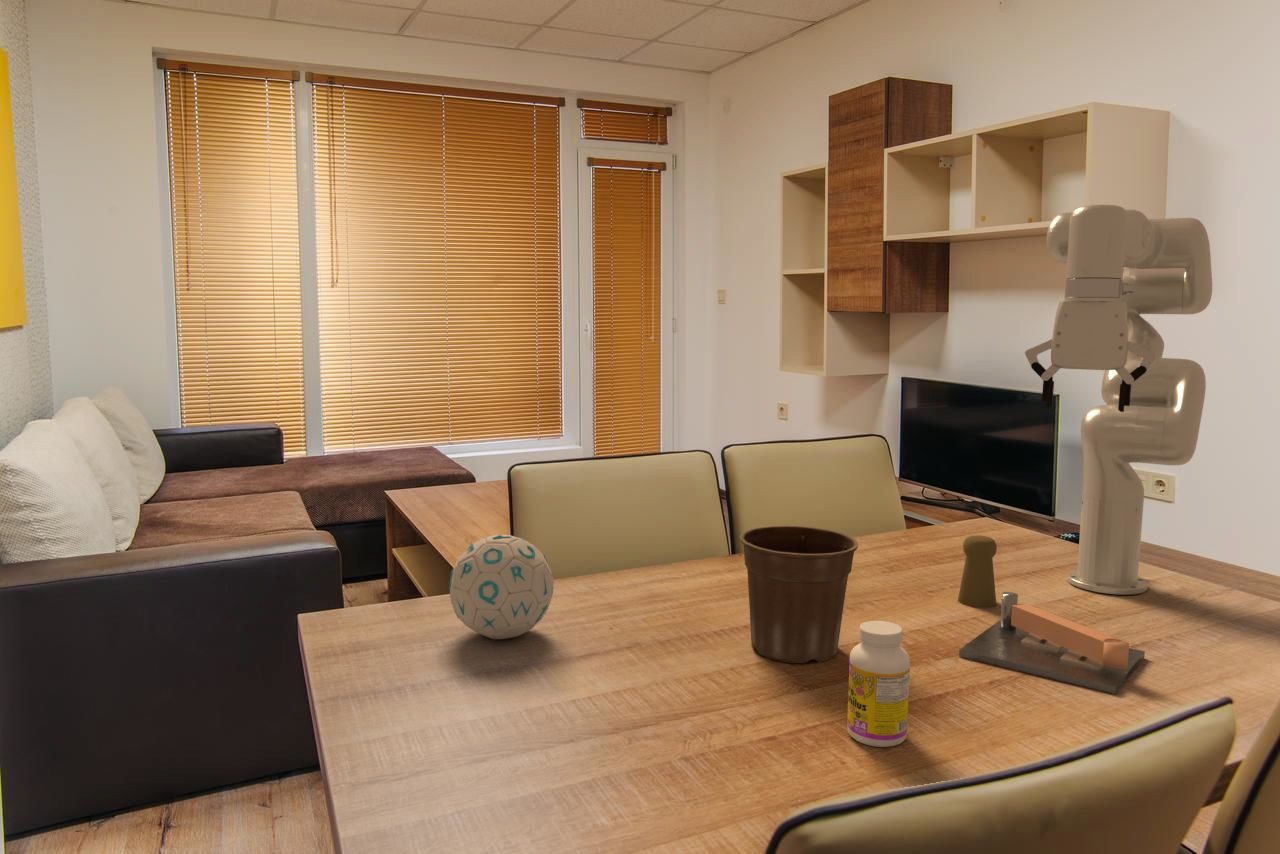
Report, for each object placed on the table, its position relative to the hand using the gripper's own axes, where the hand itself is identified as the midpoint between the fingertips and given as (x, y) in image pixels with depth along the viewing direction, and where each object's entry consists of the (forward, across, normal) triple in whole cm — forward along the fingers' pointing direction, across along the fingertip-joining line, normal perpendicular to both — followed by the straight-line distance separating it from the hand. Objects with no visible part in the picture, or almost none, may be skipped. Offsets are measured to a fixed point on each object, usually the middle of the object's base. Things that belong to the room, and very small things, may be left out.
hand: (1084, 409), depth 140 cm
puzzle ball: (+35, +75, +41) cm, 92 cm away
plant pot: (+35, +34, +27) cm, 56 cm away
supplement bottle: (+35, +18, +49) cm, 63 cm away
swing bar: (+32, 0, +14) cm, 35 cm away
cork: (+33, +14, -7) cm, 37 cm away
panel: (+34, +2, +14) cm, 37 cm away
